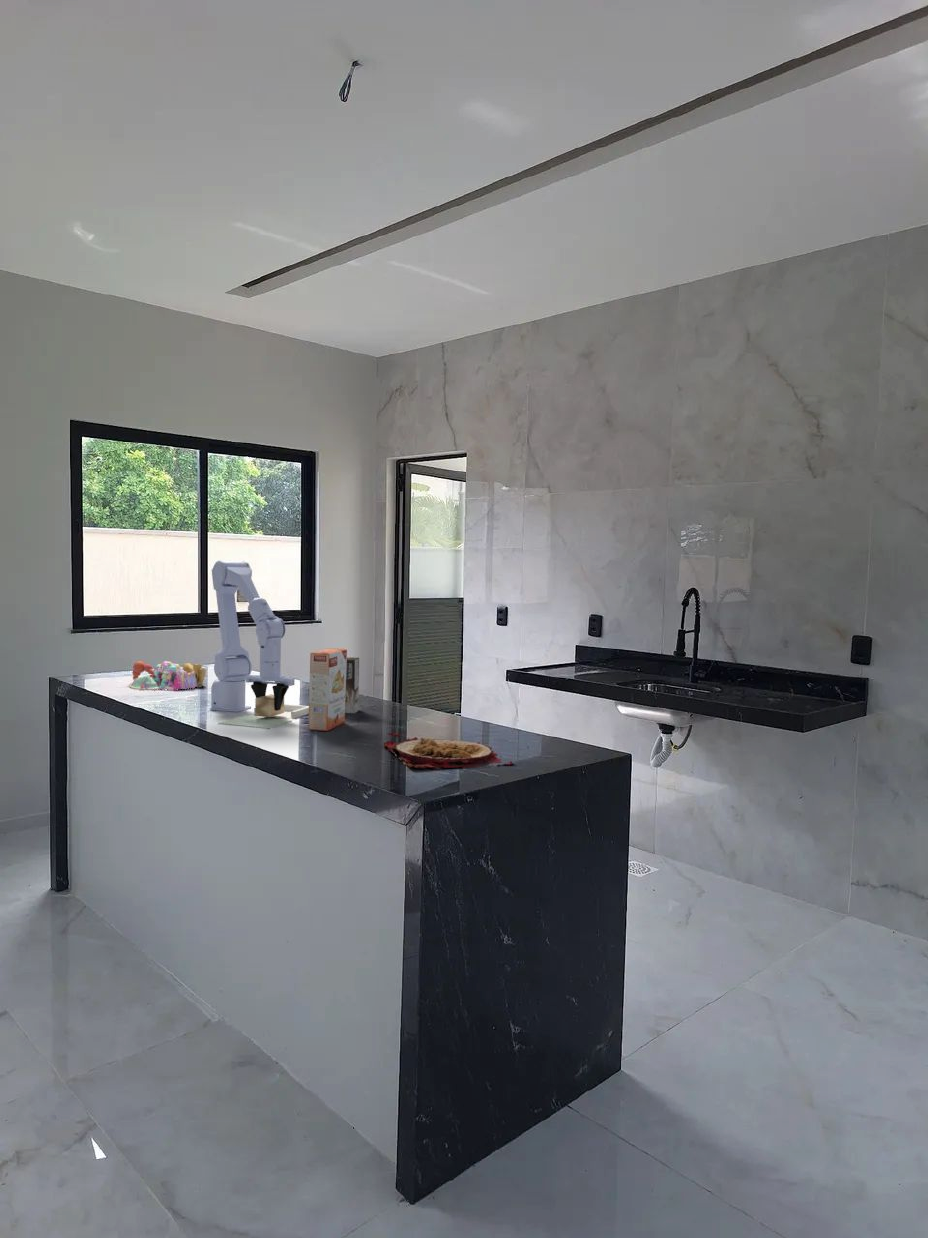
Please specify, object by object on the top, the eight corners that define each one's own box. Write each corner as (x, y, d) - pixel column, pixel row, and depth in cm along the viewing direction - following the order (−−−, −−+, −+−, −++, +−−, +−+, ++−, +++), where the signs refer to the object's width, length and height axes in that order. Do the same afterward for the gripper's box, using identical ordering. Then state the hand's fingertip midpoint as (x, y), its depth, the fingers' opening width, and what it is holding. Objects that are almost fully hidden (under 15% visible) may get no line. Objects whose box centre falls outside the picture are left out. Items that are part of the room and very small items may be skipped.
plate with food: (411, 775, 191) (412, 759, 191) (381, 746, 216) (382, 732, 216) (515, 770, 199) (516, 755, 199) (475, 743, 224) (475, 730, 224)
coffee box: (359, 710, 265) (360, 657, 264) (354, 714, 259) (355, 659, 258) (329, 709, 266) (330, 656, 265) (324, 712, 260) (325, 658, 259)
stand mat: (217, 724, 238) (217, 722, 238) (242, 716, 249) (242, 715, 249) (269, 729, 233) (269, 728, 233) (292, 721, 244) (292, 720, 244)
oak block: (255, 716, 245) (255, 698, 245) (270, 711, 253) (270, 694, 252) (269, 717, 244) (269, 699, 243) (284, 712, 251) (284, 695, 251)
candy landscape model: (189, 680, 320) (190, 655, 320) (217, 689, 302) (217, 662, 301) (120, 685, 304) (120, 658, 303) (144, 694, 286) (144, 666, 285)
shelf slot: (253, 715, 252) (253, 708, 252) (272, 709, 262) (272, 703, 262) (293, 719, 248) (293, 712, 248) (312, 713, 258) (312, 706, 258)
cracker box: (328, 732, 231) (330, 653, 230) (307, 730, 232) (308, 652, 231) (346, 722, 245) (347, 648, 244) (326, 721, 246) (327, 647, 245)
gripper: (240, 661, 246) (239, 709, 246) (285, 664, 241) (285, 713, 242) (253, 658, 252) (253, 705, 253) (298, 662, 248) (297, 709, 249)
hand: (269, 709), depth 248 cm, fingers closed on oak block, 4 cm apart
